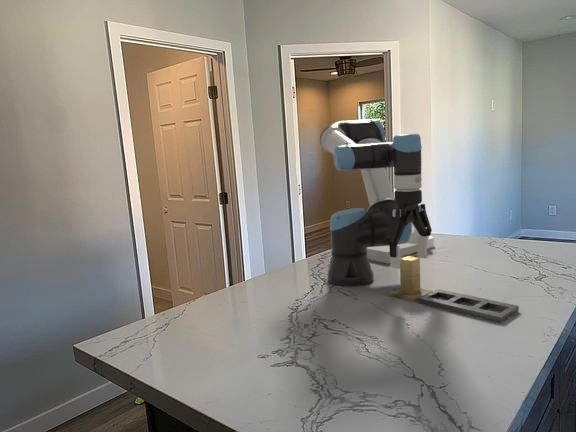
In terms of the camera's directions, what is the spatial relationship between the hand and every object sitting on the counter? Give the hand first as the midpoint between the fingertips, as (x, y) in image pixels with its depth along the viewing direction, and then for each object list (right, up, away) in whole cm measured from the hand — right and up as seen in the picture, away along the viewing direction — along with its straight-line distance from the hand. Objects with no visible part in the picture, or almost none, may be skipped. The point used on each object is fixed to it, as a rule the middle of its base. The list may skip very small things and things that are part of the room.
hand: (409, 262), depth 127 cm
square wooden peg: (+1, -9, +1) cm, 9 cm away
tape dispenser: (+19, +1, +64) cm, 67 cm away
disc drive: (+3, -3, +51) cm, 51 cm away
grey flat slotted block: (+12, -10, -12) cm, 20 cm away
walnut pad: (+1, -9, +1) cm, 9 cm away
